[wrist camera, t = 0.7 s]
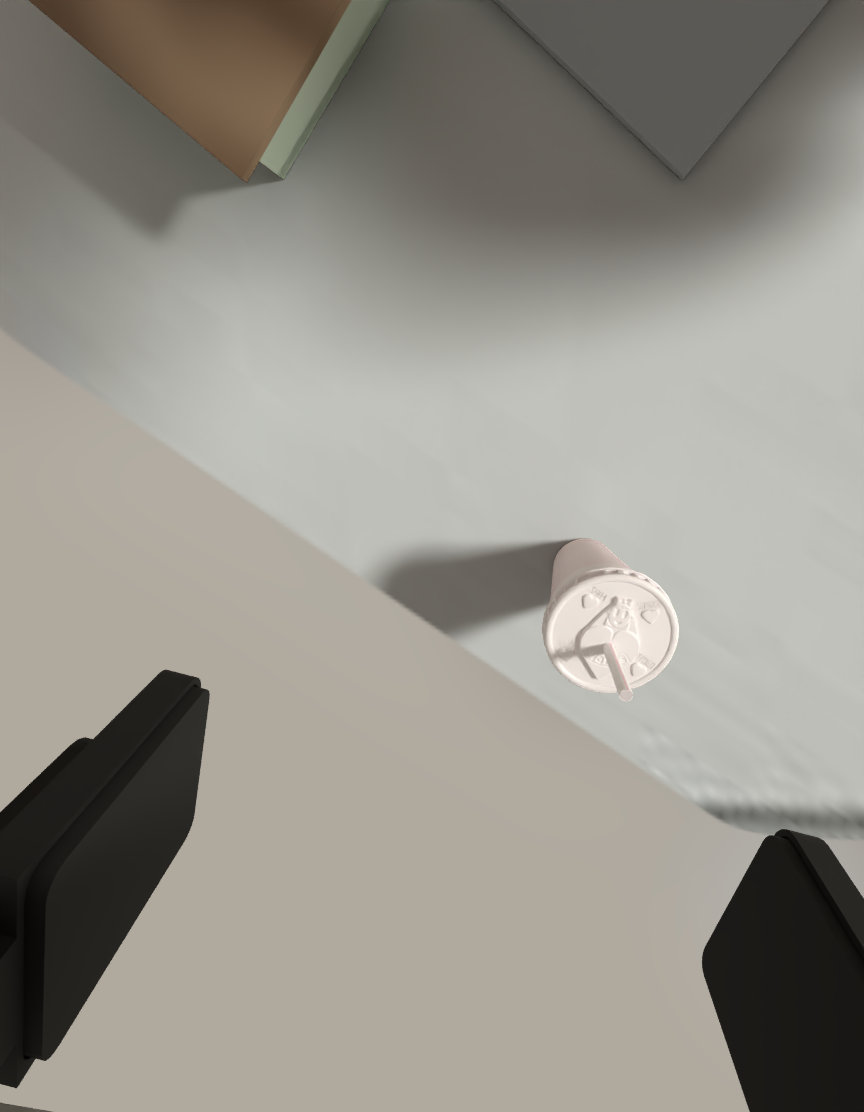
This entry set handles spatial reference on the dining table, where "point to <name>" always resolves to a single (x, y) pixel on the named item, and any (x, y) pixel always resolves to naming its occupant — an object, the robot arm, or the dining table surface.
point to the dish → (322, 84)
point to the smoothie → (606, 621)
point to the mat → (668, 60)
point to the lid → (208, 61)
